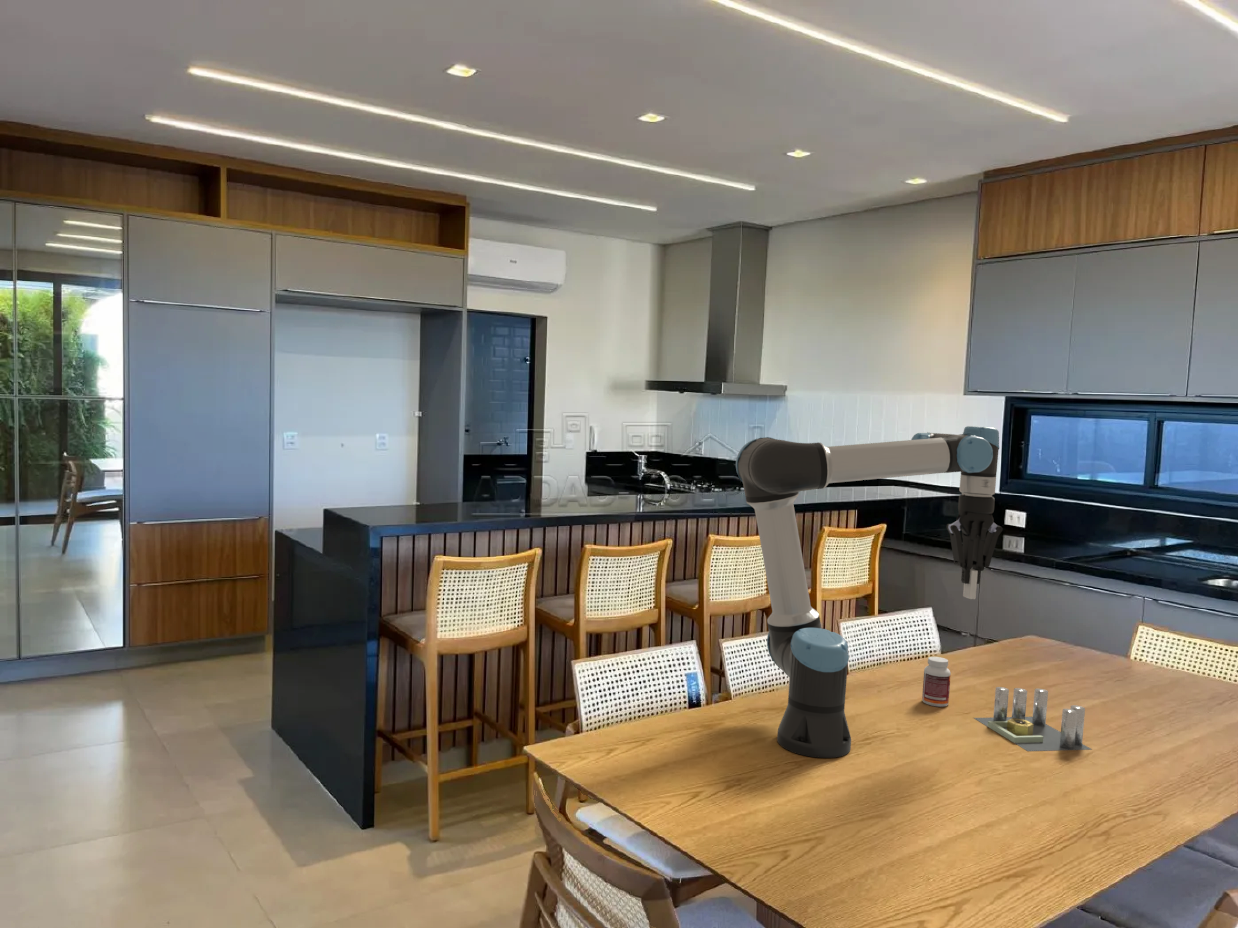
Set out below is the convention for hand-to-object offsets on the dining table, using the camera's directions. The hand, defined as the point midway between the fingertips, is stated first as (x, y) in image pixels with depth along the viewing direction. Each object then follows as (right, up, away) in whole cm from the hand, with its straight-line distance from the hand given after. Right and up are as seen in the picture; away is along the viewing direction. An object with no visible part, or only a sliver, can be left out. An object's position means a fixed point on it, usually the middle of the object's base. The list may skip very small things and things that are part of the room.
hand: (969, 597), depth 202 cm
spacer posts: (+14, -30, -4) cm, 33 cm away
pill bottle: (-2, -29, +16) cm, 33 cm away
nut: (+10, -30, -4) cm, 32 cm away
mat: (+12, -30, -3) cm, 33 cm away
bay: (+9, -30, -4) cm, 32 cm away
